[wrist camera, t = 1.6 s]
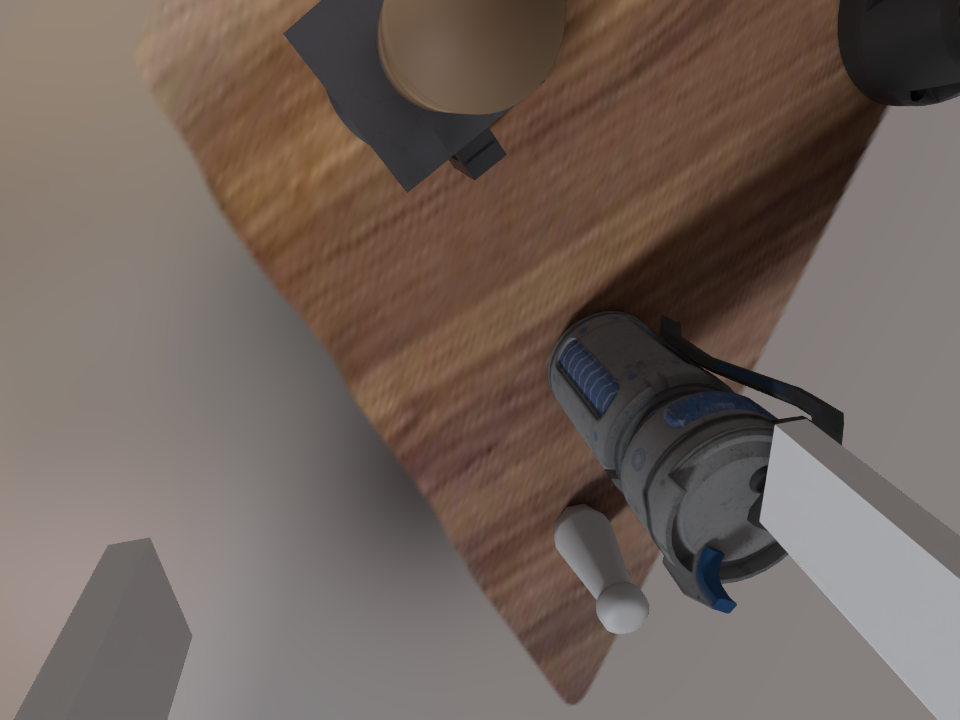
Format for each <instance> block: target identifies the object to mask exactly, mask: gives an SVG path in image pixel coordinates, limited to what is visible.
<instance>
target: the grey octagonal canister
mask: <svg viewBox="0 0 960 720" xmlns="http://www.w3.org/2000/svg"><path fill="white" fill-rule="evenodd" d="M383 1H384V0H321V1H320V2H319V3H318V4H317V5H316V6H314V7H313V8H312V9H311V10H310V11H309V12H308V13H306V14H305V15H304V16H303V17H302V18H301V19H299V20H298V21H297V22H296V23H295V24H294V25H293V26H291V27H290V28H289V29H288V30H287V31H286V32H284V33H283V34H284V35H285V37H286V38H287V39H288V40H289V42H290V43H291V44H292V46H293V47H294V48H295V49H296V51H297V52H298V53H299V55H300V56H301V57H302V58H303V60H304V61H305V62H306V64H307V65H308V66H309V67H310V69H311V70H312V71H313V73H314V74H315V75H316V76H317V78H318V79H319V80H320V81H321V83H322V84H323V85H324V87H325V88H326V91H327V93H328V96H329V98H330V101H331V103H332V105H333V107H334V109H335V111H336V113H337V114H338V115H339V117H340V118H341V120H342V121H343V123H344V124H345V125H346V126H347V127H348V128H349V129H350V130H351V131H352V132H353V133H354V134H355V135H356V136H357V137H359V138H360V139H361V140H363V141H364V142H366V143H367V144H369V145H370V146H371V147H372V148H373V149H374V151H375V152H376V153H377V155H378V156H379V157H380V158H381V160H382V161H383V162H384V164H385V165H386V166H387V167H388V169H389V170H390V171H391V173H392V174H393V175H394V176H395V178H396V179H397V180H398V181H399V183H400V184H401V185H402V187H403V188H404V189H405V190H406V192H407V193H408V192H409V191H410V190H411V189H412V188H414V187H415V186H416V185H417V184H419V183H420V182H421V181H422V180H424V179H425V178H426V177H427V176H428V175H430V174H431V173H432V172H433V171H435V170H436V169H437V168H438V167H440V166H441V165H442V164H443V163H445V162H446V161H447V160H448V159H449V161H450V162H451V163H452V165H453V166H454V168H456V169H457V170H459V171H461V172H462V173H464V174H465V175H467V176H469V177H470V178H472V179H474V180H476V179H477V178H478V177H479V176H481V175H482V174H483V173H484V172H486V171H487V170H488V169H489V168H491V167H492V166H493V165H494V164H496V163H497V162H498V161H499V160H501V159H502V158H503V157H504V156H506V153H505V152H504V150H503V149H502V147H501V146H500V144H499V143H498V141H497V140H496V138H495V137H494V135H493V134H492V132H491V131H490V129H489V128H488V127H489V126H490V125H491V124H493V123H494V122H495V121H496V120H497V119H499V118H500V117H501V116H502V115H504V114H505V113H506V112H507V111H509V110H510V109H511V108H512V107H513V106H512V107H510V108H508V109H505V110H502V111H500V112H495V113H490V114H479V115H475V114H460V113H445V112H433V111H429V110H425V109H422V108H420V107H417V106H415V105H414V104H412V103H410V102H409V101H407V100H406V99H405V98H403V97H402V96H401V95H400V94H399V93H398V92H397V91H396V90H395V88H394V87H393V86H392V85H391V83H390V82H389V80H388V79H387V77H386V75H385V73H384V71H383V69H382V66H381V63H380V60H379V55H378V51H377V25H378V20H379V16H380V12H381V9H382V5H383ZM543 82H544V81H543ZM543 82H542V83H543ZM542 83H541V84H542ZM541 84H540V85H541ZM514 106H515V105H514Z"/></svg>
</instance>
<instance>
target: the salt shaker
mask: <svg viewBox="0 0 960 720" xmlns="http://www.w3.org/2000/svg"><path fill="white" fill-rule="evenodd" d="M554 534H555V544H556V548H557V549H558V551H559V552H560V554H561V555H562V556H563V558H564V559H565V560H566V562H567V563H568V564H569V565H570V567H571V568H572V569H573V570H574V572H575V573H576V574H577V576H578V577H579V578H580V579H581V581H582V582H583V583H584V584H585V586H586V587H587V588H588V589H589V591H590V592H591V593H592V595H593V596H594V597H595V598H596V600H597V601H596V609H597V615H598V618H599V620H600V621H601V622H602V624H603V625H604V626H605V628H606V629H607V630H608V631H610V632H613V633H616V634H625V633H626V634H627V633H630V632H633V631H635V630H637V629H638V628H639V627H640V626H642V625H643V624H644V622H645V620H646V618H647V617H648V614H649V604H648V601H647V598H646V597H645V595H644V594H643V592H642V591H641V590H640V588H639V587H638V586H637V585H635V584H633V583H631V581H630V578H629V575H628V572H627V569H626V566H625V563H624V561H623V558H622V555H621V552H620V549H619V546H618V543H617V540H616V537H615V534H614V531H613V528H612V525H611V524H610V522H609V521H608V519H607V518H606V516H605V515H604V514H603V513H601V512H599V511H596V510H594V509H592V508H591V507H589V506H587V505H585V504H579V505H574V506H569V507H566V508H565V510H564V511H563V512H562V514H561V515H560V516H559V518H558V519H557V520H556V526H555V533H554Z"/></svg>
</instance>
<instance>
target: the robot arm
mask: <svg viewBox="0 0 960 720" xmlns="http://www.w3.org/2000/svg"><path fill="white" fill-rule="evenodd" d="M838 40H839V47H840V53H841V57H842V60H843V63H844V66H845V68H846V71H847V73H848V75H849V76H850V78H851V80H852V81H853V83H854V84H855V85H856V86H857V88H858V89H859V90H860V91H861V92H862V93H864V94H865V95H866V96H868V97H869V98H871V99H872V100H874V101H877V102H879V103H882V104H885V105H891V106H925V105H931V104H936V103H940V102H944V101H947V100H950V99H952V98H955V97H958V96H960V0H840V6H839V14H838ZM760 523H761V524H762V525H763V526H764V527H765V528H766V529H767V530H768V532H769V533H770V534H771V535H772V536H773V537H774V538H775V539H776V540H777V542H778V543H779V544H780V545H781V546H782V547H783V548H784V549H785V550H786V552H787V553H788V554H789V555H790V556H791V557H792V558H793V559H794V560H795V561H796V563H797V564H798V565H799V566H800V567H801V568H802V569H803V570H804V572H806V574H807V575H808V576H809V577H810V578H811V579H812V580H813V582H814V583H815V584H816V585H817V586H818V587H819V588H820V589H821V590H822V591H823V593H824V594H825V595H826V596H827V597H828V598H829V599H830V600H831V602H832V603H833V604H834V605H835V606H836V607H837V608H838V609H839V610H840V611H841V613H842V614H843V615H844V616H845V617H846V618H847V619H848V620H849V622H850V623H851V624H852V625H853V626H854V627H855V628H856V629H857V630H858V632H859V633H860V634H861V635H862V636H863V637H864V638H865V639H866V640H867V642H868V643H869V644H870V645H871V646H872V647H873V648H874V649H875V650H876V651H877V653H878V654H879V655H880V656H881V657H882V658H883V659H884V660H885V662H886V663H887V664H888V665H889V666H890V667H891V668H892V669H893V670H894V672H895V673H896V674H897V675H898V676H899V677H900V678H901V679H902V680H903V682H904V683H905V684H906V685H907V686H908V687H909V688H910V689H911V690H912V692H913V693H914V694H915V695H916V696H917V697H918V698H919V699H920V700H921V702H922V703H923V704H924V705H925V706H926V707H927V708H928V709H929V711H930V712H931V713H932V714H933V715H934V716H935V717H936V718H937V719H938V720H960V536H959V535H958V534H957V533H955V532H954V531H952V530H951V529H950V528H949V527H947V526H946V525H945V524H944V523H942V522H941V521H940V520H938V519H937V518H936V517H934V516H933V515H932V514H930V513H929V512H928V511H927V510H925V509H924V508H923V507H921V506H920V505H919V504H917V503H916V502H915V501H913V500H912V499H911V498H910V497H908V496H907V495H906V494H904V493H903V492H902V491H900V490H899V489H898V488H896V487H895V486H894V485H892V484H891V483H890V482H889V481H887V480H886V479H885V478H883V477H882V476H881V475H879V474H878V473H877V472H875V471H874V470H873V469H872V468H870V467H869V466H868V465H866V464H865V463H863V462H862V461H861V460H860V459H858V458H857V457H856V456H855V455H853V454H852V453H851V452H849V451H848V450H847V449H845V448H844V447H843V446H841V445H840V444H839V443H838V442H836V441H835V440H834V439H832V438H831V437H830V436H828V435H827V434H826V433H824V432H823V431H822V430H821V429H819V428H818V427H817V426H815V425H814V424H813V423H811V422H810V421H809V420H807V419H803V420H797V421H792V422H786V423H781V424H775V427H774V433H773V440H772V446H771V452H770V458H769V465H768V471H767V477H766V483H765V489H764V496H763V502H762V508H761V514H760ZM191 638H192V634H191V632H190V629H189V627H188V625H187V622H186V620H185V618H184V615H183V613H182V611H181V608H180V606H179V604H178V601H177V600H176V597H175V595H174V592H173V590H172V588H171V585H170V583H169V581H168V578H167V576H166V574H165V571H164V569H163V567H162V564H161V562H160V560H159V558H158V555H157V553H156V550H155V548H154V546H153V543H152V541H151V539H150V538H145V539H139V540H134V541H128V542H123V543H117V544H112V545H108V546H107V548H106V550H105V552H104V553H103V555H102V557H101V559H100V561H99V563H98V565H97V567H96V568H95V570H94V572H93V574H92V576H91V578H90V580H89V581H88V583H87V585H86V587H85V589H84V590H83V593H82V594H81V596H80V598H79V600H78V602H77V604H76V605H75V607H74V609H73V611H72V613H71V614H70V616H69V618H68V620H67V622H66V624H65V626H64V628H63V629H62V631H61V633H60V635H59V637H58V638H57V641H56V642H55V644H54V646H53V648H52V650H51V652H50V653H49V655H48V657H47V659H46V661H45V663H44V664H43V666H42V668H41V670H40V672H39V674H38V675H37V677H36V679H35V681H34V683H33V685H32V687H31V689H30V690H29V692H28V694H27V696H26V698H25V700H24V701H23V703H22V705H21V707H20V709H19V711H18V712H17V714H16V716H15V718H14V720H167V718H168V715H169V712H170V708H171V705H172V702H173V698H174V695H175V692H176V689H177V685H178V682H179V679H180V675H181V672H182V669H183V665H184V662H185V659H186V655H187V652H188V649H189V645H190V642H191Z"/></svg>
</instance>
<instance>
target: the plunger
mask: <svg viewBox="0 0 960 720" xmlns="http://www.w3.org/2000/svg"><path fill="white" fill-rule="evenodd" d="M565 13H566V6H565V0H384V1H383V5H382V9H381V12H380V16H379V20H378V25H377V51H378V55H379V60H380V63H381V66H382V69H383V71H384V73H385V75H386V77H387V79H388V80H389V82H390V83H391V85H392V86H393V87H394V88H395V90H396V91H397V92H398V93H399V94H400V95H401V96H402V97H403V98H405V99H406V100H407V101H409V102H410V103H412V104H414V105H415V106H417V107H420V108H422V109H425V110H429V111H433V112H445V113H460V114H475V115H479V114H490V113H495V112H500V111H502V110H505V109H508V108H510V107H512V106H514V105H516V104H518V103H520V102H521V101H522V100H524V99H525V98H527V97H528V96H529V95H530V94H531V93H532V92H534V91H535V90H536V89H537V88H538V87H539V85H540V84H541V83H542V82H543V81H544V79H545V78H546V76H547V75H548V73H549V72H550V70H551V68H552V66H553V64H554V62H555V60H556V58H557V55H558V53H559V50H560V47H561V43H562V39H563V35H564V28H565Z"/></svg>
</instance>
